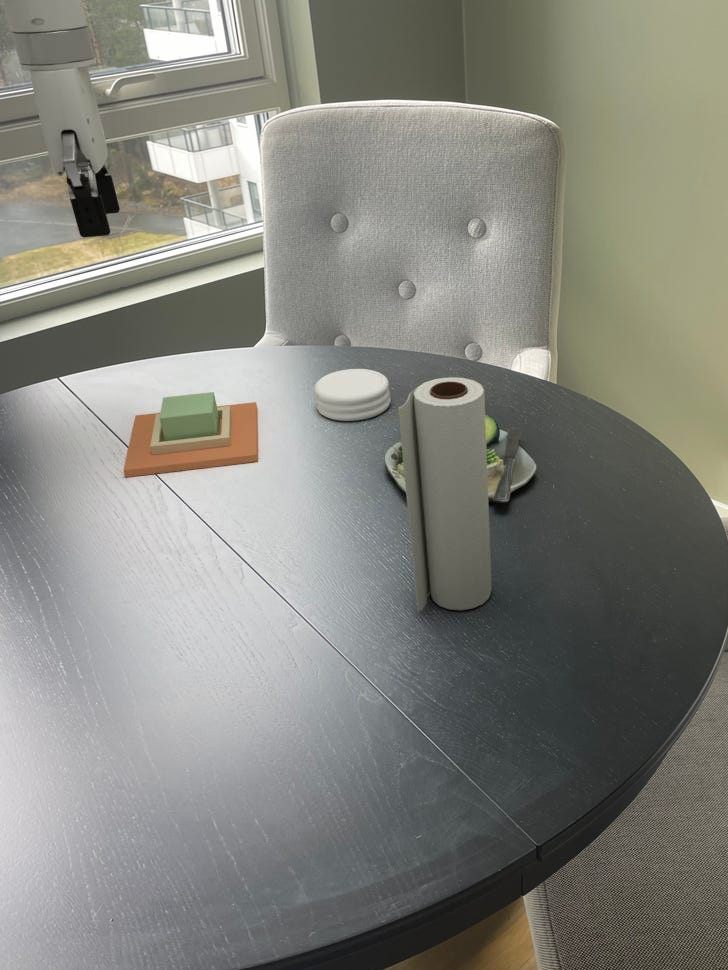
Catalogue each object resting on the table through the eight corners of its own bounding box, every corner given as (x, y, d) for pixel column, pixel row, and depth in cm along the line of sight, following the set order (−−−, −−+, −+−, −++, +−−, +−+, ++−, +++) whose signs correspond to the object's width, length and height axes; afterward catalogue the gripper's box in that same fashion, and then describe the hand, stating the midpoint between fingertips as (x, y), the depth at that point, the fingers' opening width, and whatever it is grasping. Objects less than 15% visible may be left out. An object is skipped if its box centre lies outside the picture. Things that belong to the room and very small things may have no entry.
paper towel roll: (490, 575, 98) (483, 373, 85) (492, 611, 93) (485, 401, 80) (419, 578, 98) (401, 376, 85) (417, 614, 93) (397, 405, 80)
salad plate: (571, 500, 109) (572, 464, 106) (419, 533, 105) (416, 496, 102) (509, 431, 124) (509, 397, 121) (374, 457, 119) (370, 422, 116)
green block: (167, 447, 121) (159, 418, 119) (170, 426, 126) (162, 397, 124) (218, 441, 122) (212, 412, 120) (220, 420, 127) (213, 391, 125)
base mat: (125, 477, 118) (120, 461, 116) (137, 422, 130) (132, 406, 129) (258, 461, 120) (254, 445, 118) (257, 408, 132) (254, 393, 131)
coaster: (311, 398, 134) (307, 374, 132) (381, 386, 136) (378, 362, 134) (324, 427, 126) (321, 402, 124) (398, 415, 129) (396, 390, 127)
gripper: (32, 42, 106) (77, 208, 117) (0, 63, 93) (55, 248, 103) (102, 38, 107) (141, 202, 118) (81, 58, 94) (127, 242, 104)
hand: (101, 224), depth 110 cm, fingers open, 9 cm apart
